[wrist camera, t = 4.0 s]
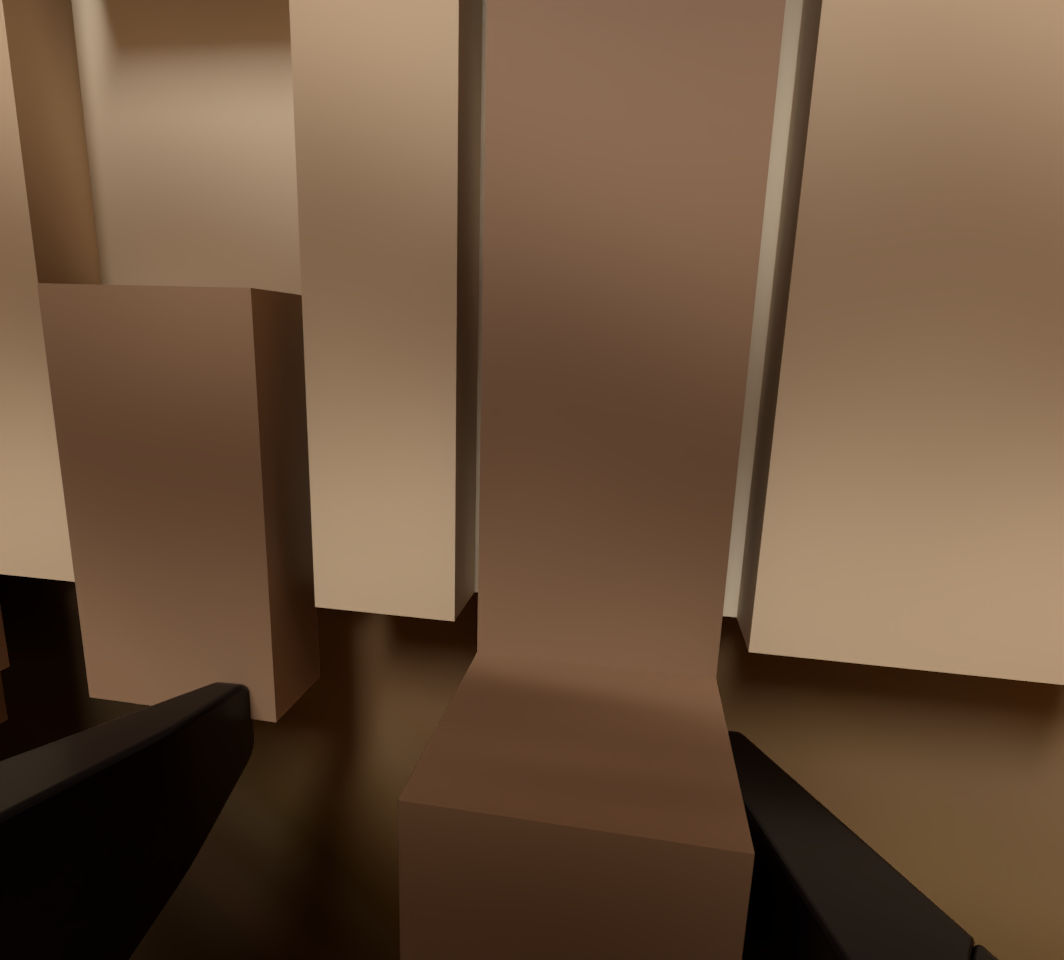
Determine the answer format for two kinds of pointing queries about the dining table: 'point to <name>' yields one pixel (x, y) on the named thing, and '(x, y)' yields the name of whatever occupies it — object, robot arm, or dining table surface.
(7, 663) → the strip
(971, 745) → the dining table surface
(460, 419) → the lane board
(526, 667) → the strip
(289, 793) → the dining table surface
